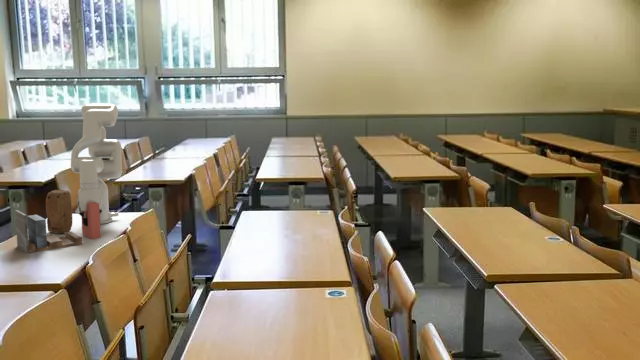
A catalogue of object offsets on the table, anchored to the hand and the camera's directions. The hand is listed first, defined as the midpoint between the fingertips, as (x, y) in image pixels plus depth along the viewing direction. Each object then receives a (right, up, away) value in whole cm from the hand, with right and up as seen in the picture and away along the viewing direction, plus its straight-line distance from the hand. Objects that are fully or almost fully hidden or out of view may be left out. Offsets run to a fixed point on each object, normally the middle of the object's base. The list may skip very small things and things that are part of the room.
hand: (90, 224), depth 279 cm
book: (0, -5, +1) cm, 5 cm away
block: (-17, -4, +7) cm, 19 cm away
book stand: (-11, -8, -16) cm, 21 cm away
